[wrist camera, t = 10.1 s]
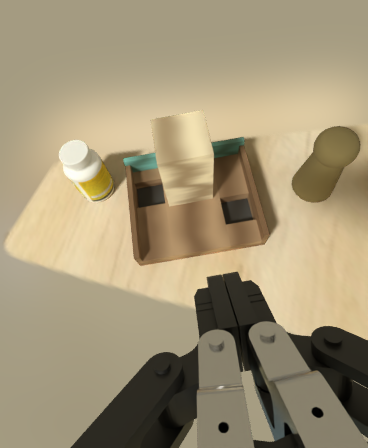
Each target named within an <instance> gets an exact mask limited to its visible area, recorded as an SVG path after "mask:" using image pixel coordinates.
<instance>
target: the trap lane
mask: <svg viewBox="0 0 368 448" xmlns="http://www.w3.org/2000/svg"><path fill="white" fill-rule="evenodd" d="M211 144H212V148H213V152H214V169H213V199H208V200H202V201H197V202H191V203H186V204H180V205H175V206H169V204H168V200H167V197H166V193H165V190H164V186H163V183H162V180H161V176H160V173H159V169H158V166H157V161H156V154H155V153H151V154H145V155H140V156H134V157H128V158H123V161H124V164H125V167H126V178H127V188H128V199H129V210H130V221H131V232H132V243H133V254H134V259H135V260H136V261H137V262H138V264H139V265H140V266H142V265H148V264H154V263H160V262H165V261H171V260H177V259H183V258H189V257H194V256H200V255H206V254H212V253H217V252H223V251H229V250H235V249H241V248H246V247H252V246H258V245H264V244H265V242H266V240H267V239H268V237H269V235H270V234H269V231H268V227H267V224H266V220H265V217H264V214H263V210H262V207H261V203H260V200H259V196H258V193H257V189H256V186H255V182H254V179H253V175H252V172H251V168H250V165H249V161H248V158H247V154H246V151H245V147H244V137H240V138H235V139H229V140H224V141H218V142H212V143H211Z"/></svg>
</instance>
